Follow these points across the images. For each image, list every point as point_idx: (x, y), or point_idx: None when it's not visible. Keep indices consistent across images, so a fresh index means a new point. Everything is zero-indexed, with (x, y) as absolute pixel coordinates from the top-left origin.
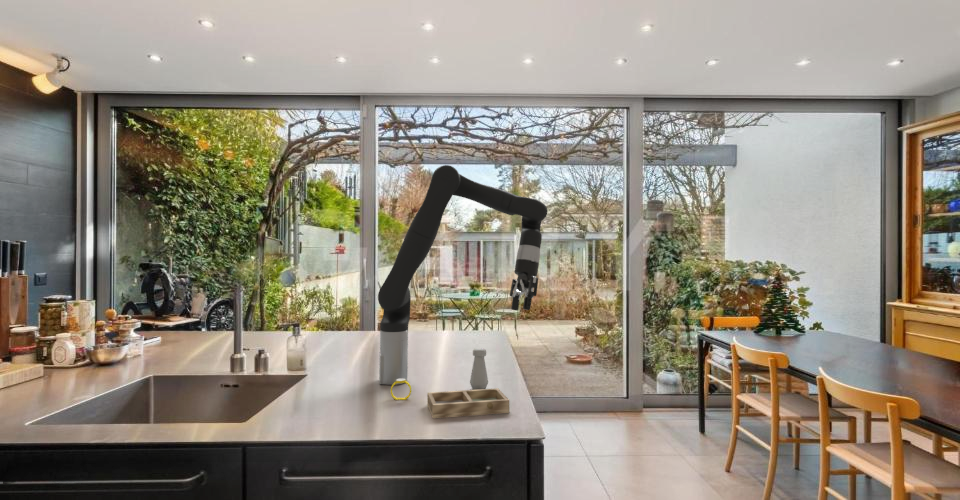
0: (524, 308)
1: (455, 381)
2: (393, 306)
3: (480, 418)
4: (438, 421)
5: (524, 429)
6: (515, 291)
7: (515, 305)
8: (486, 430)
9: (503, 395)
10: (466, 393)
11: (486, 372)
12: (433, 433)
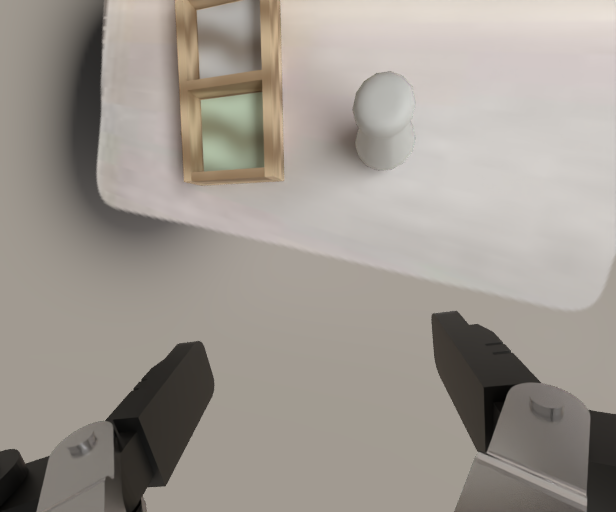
0: (182, 346)
1: (492, 79)
2: None
3: None
4: None
5: (124, 191)
6: (469, 484)
7: (449, 365)
8: (127, 118)
9: (216, 175)
10: (244, 79)
11: (375, 157)
12: (126, 12)
